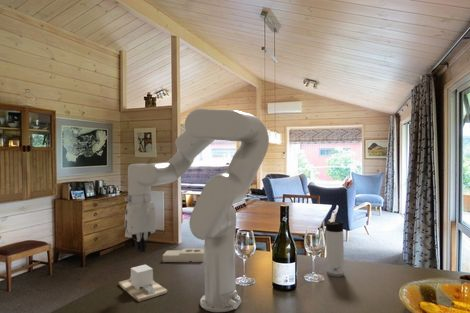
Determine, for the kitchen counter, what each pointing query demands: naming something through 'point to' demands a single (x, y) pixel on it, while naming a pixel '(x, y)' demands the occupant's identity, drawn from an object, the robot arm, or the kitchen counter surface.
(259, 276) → the kitchen counter surface
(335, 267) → the travel mug
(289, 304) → the kitchen counter surface
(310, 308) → the kitchen counter surface
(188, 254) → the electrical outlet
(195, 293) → the kitchen counter surface
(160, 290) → the mounting board
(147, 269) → the white cube
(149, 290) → the steel rail
